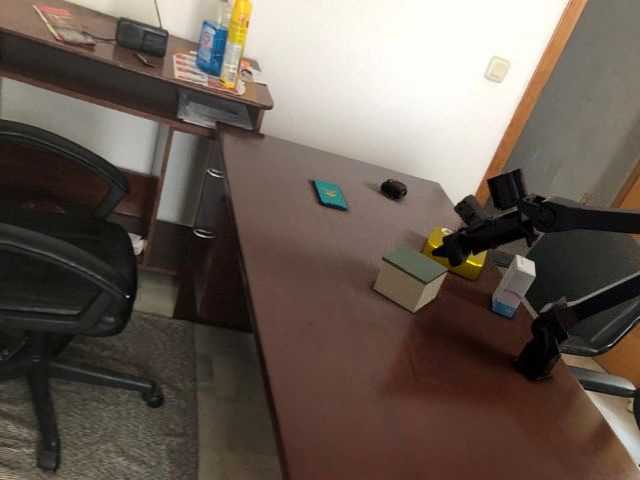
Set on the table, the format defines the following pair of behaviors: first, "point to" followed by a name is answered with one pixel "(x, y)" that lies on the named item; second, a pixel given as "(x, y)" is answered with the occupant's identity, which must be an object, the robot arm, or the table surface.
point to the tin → (406, 288)
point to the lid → (415, 264)
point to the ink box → (513, 286)
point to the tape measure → (394, 188)
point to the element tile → (465, 270)
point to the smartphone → (329, 194)
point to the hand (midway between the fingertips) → (432, 253)
